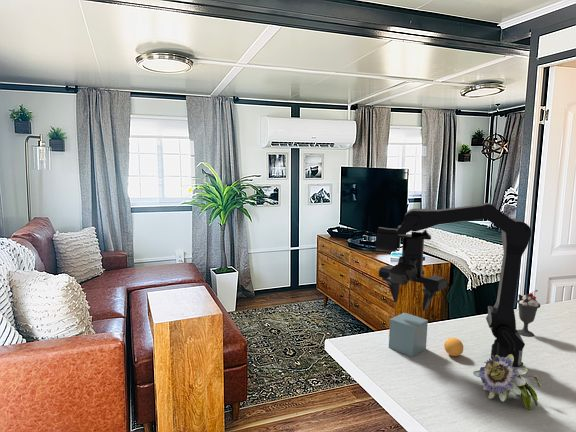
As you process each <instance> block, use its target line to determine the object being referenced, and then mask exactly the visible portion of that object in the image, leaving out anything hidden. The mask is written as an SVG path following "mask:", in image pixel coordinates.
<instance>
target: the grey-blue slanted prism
mask: <svg viewBox="0 0 576 432" xmlns="http://www.w3.org/2000/svg"><path fill="white" fill-rule="evenodd" d="M428 323H429V320H428V319H425V318H422V317H420V316H416V315H414V314H410V313H407V312H402V313H400V314H398V315H395V316H393V317H391V318H390V319H389V330H388V331H389V334H388V348H389V349H391V350H394V351H397V352H398V353H401V354H404V355H405V356H409V357H411V358H413V357H415V356H416V355H418V354H419V353H422V352H423V351H424V350H426V349H427V342H428V341H427V339H428V338H427V337H428Z"/></svg>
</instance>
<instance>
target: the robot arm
mask: <svg viewBox="0 0 576 432" xmlns="http://www.w3.org/2000/svg"><path fill="white" fill-rule="evenodd" d="M478 220H488V221H489V223H491V224H492V225H495V226H496V227H497V228H498V229H500V230H501V240H502V241H501V242H502V248H503V249H502V250H503V256H502V260H501V268H500V269H501V270H500V276H499V283H498V289H497V296H496V297H497V298H496V301H495V304H494V305H493V306H491V305H488V306H487V314H486V317H485V319H486V322H487V325H488V328H489V329H490V331H491V333H492V336H493V337H494V338H495V339H494V340H493V343H492V344H491V349H490V351H491V352H490V359H491V360H492V359H493V358H492V356H491V355H493V356H494V357H495V355H498V356H499V357H504V358H505V357H507V356H508V355H510V354H512V355H513V356H514V361H513V364H512V365H513V366H512V367H518V368H519V367H521V368H523V366H524V362H523V361H522V359H523V350H524V348H525V345H526V343H525V342H524V340H523V338H522V335H520V334H519V332H518V331H517V330H518V329H517V323H516V322H517V320H516V314H515V302H516V294H517V288H518V282H519V275H520V269H521V261H522V256H523V255H524V253H525V251H526V249H527V247H528V245H529V243H530V240H531V237H532V228H531V226H530V225H529V224H528V223H526V222H525V221H522V220H521V219H518V218H512V217H511V218H510V217H509V216H508V215H507V214H505V213H503V212H502V211H501V210H499V209H497V208H496V206H495V205H493V204H492V203H489V202H484V203H481V204H476V205H475V204H473V205H472V204H471V205H468V206H458V207H450V208H443V209H428V208H411V209H409V210H408V211H406V213H405V214H404V217H403V221H402V223H401V224H400V225H398V226H397V228H388V227H383V226H382V227H381V226H378V228H377V230H376V231H377V233H376V239H375V242H374V243H375V245H374V246H375V251H382V252H393V253H396V252H397V251H398V250H400V249H402V250H401V256H399V258H398V261H397V264H395V265H391V264H388V265H383V266H381V267H380V268H379V269H378V273H377V275H378V278H381V280H382V281H384V282H385V283H387V285H388V287H389V290H390V293H391V297H392V300H393V302H394V303H396V302H397V301H398V298H399V293H400V285H401V286H405V285H407V284H408V282H415V283H420V284H423V285H422V286H423V287H424V288H422V289H421V290H422V293H423V298H422V299H423V300H422V311H423V312H425V311H427V308H428V307H429V305H430V303H431V301H432V299H433V298H434V296H435V295H436V293H438V292H440V291H442V290H445V289H446V288H448V287H447V285H448V281H447V279H446V278H445V277H442V276H439V275H434V274H432V275H430V276H428V277H426V276H423V275H425V270H423V262H425V261H426V256H424V247H425V244H424V243H425V240H428V241H430V240H432V235H431V234H429V233H428V231H427V229H429V228H432V227H435V226H437V225H442V224H443V225H444V224H451V223H452V224H453V223H460V222H470V221H478ZM410 232H411V233H410ZM409 233H410V234H409ZM401 239H402V248H401Z"/></svg>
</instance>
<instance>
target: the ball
mask: <svg viewBox="0 0 576 432" xmlns="http://www.w3.org/2000/svg"><path fill="white" fill-rule="evenodd" d="M443 345H444V346H443V347H444V350H445V352H446V354H448V355H450V356H452V357H458V356H461V355H462V353H463V352H464V345H463V343H462V341H461V340H460V339H459V338H456V337H449V338H448V339H446V340H445V341H444V344H443Z"/></svg>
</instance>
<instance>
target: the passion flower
mask: <svg viewBox="0 0 576 432" xmlns="http://www.w3.org/2000/svg"><path fill="white" fill-rule="evenodd" d="M491 356H492V358H493V359H491V358H489V359H487V360H486V361H484V364H485V366H481V367H480V369H479V370H475V371H473V373H472V374H473V375H474V376H475V377H477V378H480V379H481V380H480V381H482V384H483V385H482V391H484V392H488V394H487V395H488V396H487V399H488V400H493V399H495V398H496V396H497V395H498V398H499V400H500V402H502V403H503V402H504V403H505V402H506V401H508V397H509V394H510V392H511V393H513V394H515V395H516V396H519V395H520V398H521V401H522V402H523V406H524V408H525V409H527V410H528V411H531V410H532V407H533V405H532V403H533V401H534V403H535V406H536V407H538V399H539V398H538V394H537V393H536V390H534V389H533V387H532V386H531V385H530V384H529V383H528V382H527V381H526V380H525V379H524V378H527V377H531V375H526V374H527V373H528V370H529V369H527V368H525V367H519V368H518V367H512V366H513V365H512V364H513V361H514V356H513V355H512V354H510V355H508V356H507V357H505V358H504V357H499V356H498V355H495V357H494V356H493V355H491V354H490V357H491ZM523 375H524V376H523ZM532 377H534V379H535V381H536V382H537V383H536V384H537V387H541V386H542V385H541V382H540V380H539V377H538V375H536V374H535V375H532ZM532 400H533V401H532Z"/></svg>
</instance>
